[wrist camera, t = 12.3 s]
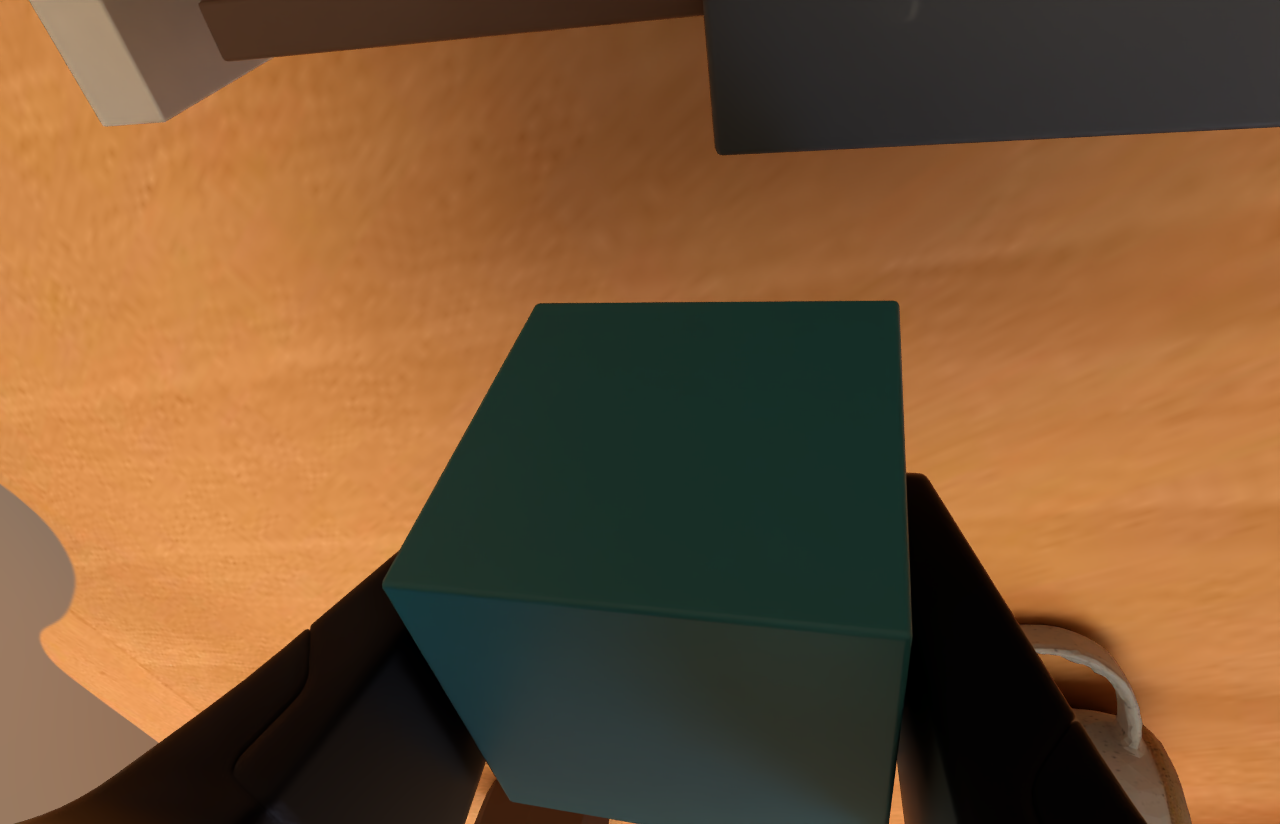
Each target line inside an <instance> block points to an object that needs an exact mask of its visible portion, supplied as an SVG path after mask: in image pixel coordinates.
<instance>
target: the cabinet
mask: <svg viewBox="0 0 1280 824" xmlns="http://www.w3.org/2000/svg"><path fill="white" fill-rule="evenodd" d="M703 12H704V24H705V36H706V48H707V60H708V71H709V83H710V95H711V107H712V119H713V131H714V143H715V149H716V151H717V153H718V154H719V155H741V154H760V153H780V152H799V151H819V150H838V149H858V148H877V147H897V146H916V145H936V144H956V143H975V142H995V141H1014V140H1034V139H1053V138H1073V137H1092V136H1112V135H1131V134H1151V133H1171V132H1190V131H1210V130H1229V129H1249V128H1268V127H1280V0H703Z"/></svg>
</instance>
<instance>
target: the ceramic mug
mask: <svg viewBox="0 0 1280 824" xmlns="http://www.w3.org/2000/svg"><path fill="white" fill-rule="evenodd" d="M1020 627H1021V628H1022V630H1023V632H1024V633H1025V635H1026V636H1027V638H1028V640H1029V641H1030V643H1031V644H1032V646H1033V648H1034V649H1035V651H1036V652H1037V653H1039V654H1050V655H1058V656H1061V657H1063V658H1065V659H1067V660H1069V661H1072V662H1075V663H1078V664H1084V665H1086V666H1088V667H1090V668H1091V669H1092V670H1093V671H1094V672H1095V673H1098V674H1100V675H1102V676H1104V677H1106V678H1107V679H1108V680H1109V681H1110V683H1111V684H1112V685H1113V687H1114V688H1115V692H1116V698H1117V715H1112V714H1108V713H1103V712H1099V711H1093V710H1084V709H1072V710H1073V712H1074V713H1075V720H1074V721H1079V722H1080V723H1081V724H1082V726H1083V727H1084V729H1085V730H1086V732H1087V734H1088V735H1089V737H1090V738H1091V740H1092V742H1093V743H1094V745H1095V746H1096V748H1097V750H1098V751H1099V753H1100V754H1101V756H1102V758H1103V759H1104V761H1105V762H1106V764H1107V765H1108V767H1109V768H1110V770H1111V771H1112V773H1113V774H1114V776H1115V777H1116V779H1117V780H1118V782H1119V783H1120V785H1121V786H1122V788H1123V789H1124V791H1125V792H1126V794H1127V795H1128V797H1129V798H1130V800H1131V801H1132V803H1133V804H1134V806H1135V807H1136V808H1137V810H1138V811H1139V812H1140V814H1141V815H1142V817H1143V818H1144V819H1145V821H1146V822H1147V823H1148V824H1192V822H1191V818H1190V814H1189V811H1188V807H1187V804H1186V800H1185V797H1184V793H1183V789H1182V786H1181V783H1180V780H1179V778H1178V775H1177V773H1176V770H1175V768H1174V766H1173V764H1172V762H1171V760H1170V758H1169V756H1168V755H1167V753H1166V751H1165V749H1164V747H1163V745H1162V743H1161V742H1160V741H1159V740H1158V739H1157V738H1156V737H1155V736H1154V735H1153V733H1151V732H1150V731H1149V730H1148V729H1147V728H1146V727H1145V726H1144V725H1143V723H1142V719H1141V716H1140V709H1139V706H1138V703H1137V700H1136V697H1135V695H1134V692H1133V690H1132V688H1131V685H1130V684H1129V682H1128V680H1127V678H1126V676H1125V674H1124V673H1123V671H1122V670H1121V668H1120V667H1119V665H1118V663H1117V662H1116V660H1115V659H1114V658H1113V657H1112V656H1111V655H1110V654H1109V652H1108V651H1107V650H1106V649H1104V648H1103V647H1102V646H1100V645H1099V644H1098V643H1096V642H1094V641H1092V640H1091V639H1089V638H1087V637H1085V636H1083V635H1081V634H1078V633H1076V632H1073V631H1070V630H1067V629H1064V628H1060V627H1056V626H1048V625H1027V624H1021V625H1020Z"/></svg>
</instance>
